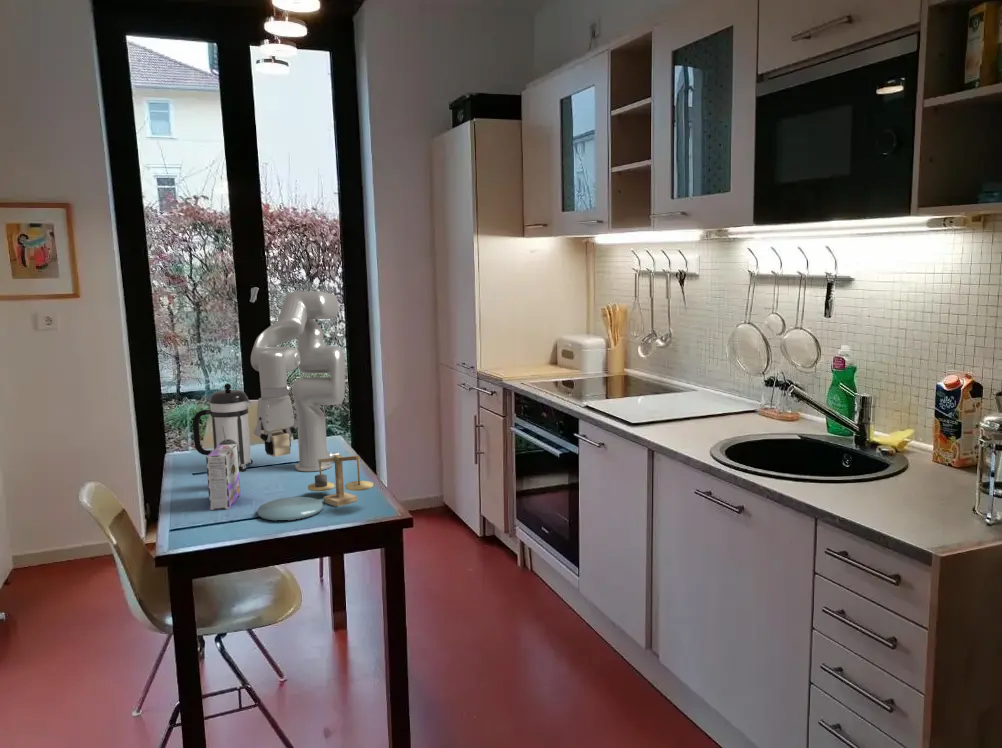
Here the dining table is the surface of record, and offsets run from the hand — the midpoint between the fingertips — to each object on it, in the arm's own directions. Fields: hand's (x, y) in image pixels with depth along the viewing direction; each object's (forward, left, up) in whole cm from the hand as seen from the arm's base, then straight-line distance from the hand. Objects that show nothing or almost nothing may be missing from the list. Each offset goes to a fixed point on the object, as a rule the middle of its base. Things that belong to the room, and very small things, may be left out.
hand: (278, 451), depth 233 cm
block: (0, 0, -1) cm, 1 cm away
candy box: (+12, -11, -15) cm, 22 cm away
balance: (-11, +15, -15) cm, 24 cm away
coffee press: (-8, -47, -15) cm, 50 cm away
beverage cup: (+3, -25, -15) cm, 29 cm away
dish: (+4, +12, -15) cm, 20 cm away
